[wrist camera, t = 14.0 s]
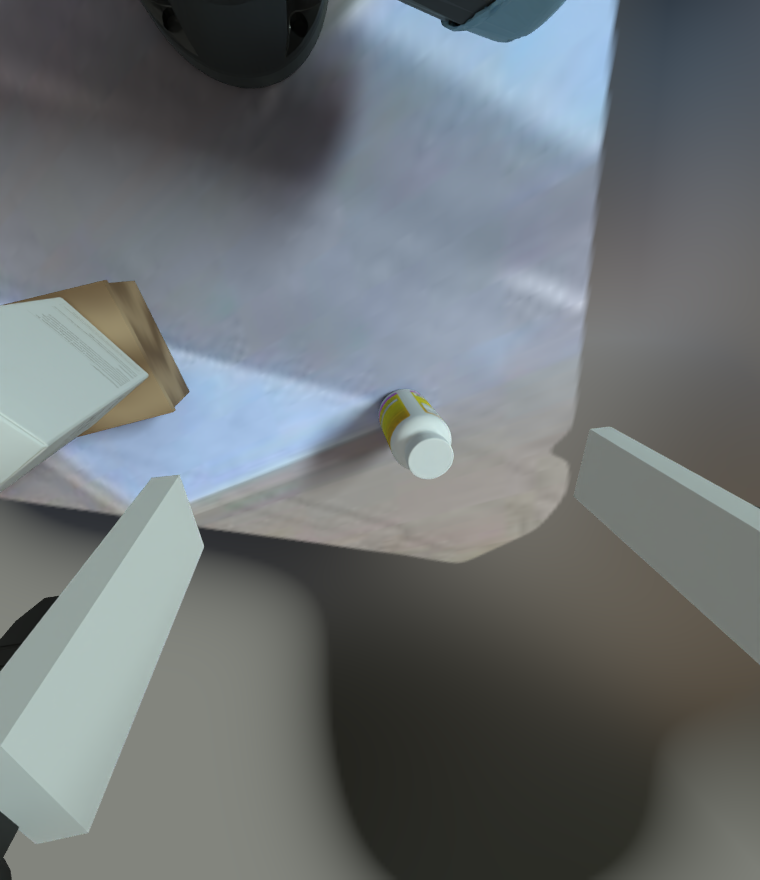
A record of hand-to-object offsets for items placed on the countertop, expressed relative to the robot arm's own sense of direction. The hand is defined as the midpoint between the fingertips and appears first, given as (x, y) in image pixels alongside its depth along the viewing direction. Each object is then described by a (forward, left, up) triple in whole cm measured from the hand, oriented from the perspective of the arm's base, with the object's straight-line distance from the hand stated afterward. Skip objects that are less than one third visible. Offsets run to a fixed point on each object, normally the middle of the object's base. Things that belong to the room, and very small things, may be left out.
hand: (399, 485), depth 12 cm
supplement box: (+1, -25, -27) cm, 37 cm away
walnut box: (+1, -25, -33) cm, 41 cm away
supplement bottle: (+11, +7, -33) cm, 35 cm away
